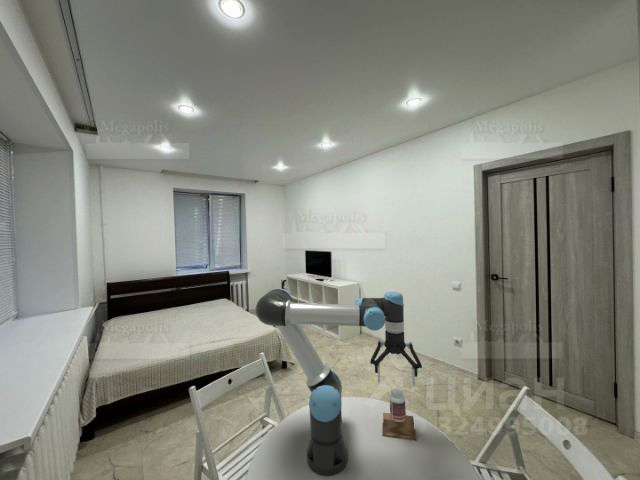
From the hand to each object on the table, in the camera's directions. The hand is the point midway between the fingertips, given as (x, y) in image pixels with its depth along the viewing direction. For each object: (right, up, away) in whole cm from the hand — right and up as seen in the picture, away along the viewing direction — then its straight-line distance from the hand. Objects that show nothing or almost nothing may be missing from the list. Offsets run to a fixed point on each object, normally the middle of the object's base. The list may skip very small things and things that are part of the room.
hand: (396, 382), depth 108 cm
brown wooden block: (+1, -20, 0) cm, 20 cm away
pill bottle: (+1, -15, 0) cm, 15 cm away
